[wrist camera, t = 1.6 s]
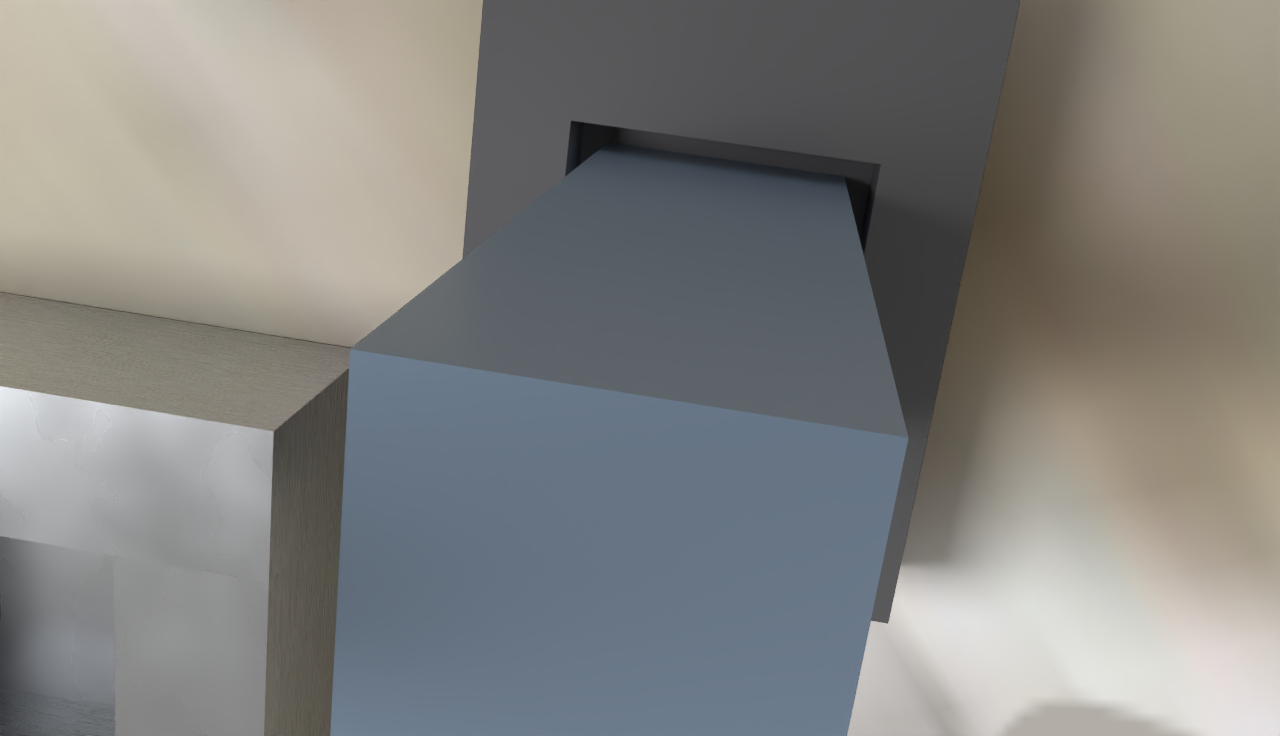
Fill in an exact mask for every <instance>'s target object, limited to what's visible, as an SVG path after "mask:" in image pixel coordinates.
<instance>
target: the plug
mask: <svg viewBox="0 0 1280 736" xmlns="http://www.w3.org/2000/svg"><path fill="white" fill-rule="evenodd" d="M907 443H908V434H907V430H906V426H905V422H904V417H903V413H902V409H901V405H900V401H899V397H898V393H897V389H896V385H895V381H894V377H893V373H892V369H891V365H890V361H889V357H888V352H887V348H886V344H885V340H884V336H883V332H882V328H881V324H880V320H879V316H878V312H877V308H876V304H875V300H874V296H873V291H872V287H871V283H870V279H869V275H868V271H867V267H866V263H865V259H864V255H863V251H862V247H861V243H860V239H859V235H858V231H857V226H856V222H855V218H854V214H853V210H852V206H851V202H850V198H849V194H848V190H847V186H846V182H845V178H844V176H839V175H832V174H825V173H818V172H811V171H804V170H797V169H790V168H783V167H776V166H769V165H762V164H755V163H748V162H741V161H734V160H727V159H720V158H713V157H706V156H699V155H692V154H685V153H678V152H670V151H663V150H656V149H649V148H642V147H635V146H628V145H621V144H614V143H607V144H605V145H604V146H603V147H602V148H600V149H599V150H598V151H597V152H595V153H594V154H593V155H592V156H590V157H589V158H588V159H587V160H586V161H584V162H583V163H582V164H581V165H579V166H578V167H577V168H576V169H574V170H573V171H572V172H571V173H569V174H568V175H567V176H566V177H564V178H563V179H562V180H561V181H559V182H558V183H557V184H556V185H554V186H553V187H552V188H551V189H549V190H548V191H547V192H546V193H544V194H543V195H542V196H541V197H539V198H538V199H537V200H536V201H534V202H533V203H532V204H531V205H529V206H528V207H527V208H526V209H524V210H523V211H522V212H521V213H519V214H518V215H517V216H516V217H514V218H513V219H512V220H511V221H509V222H508V223H507V224H506V225H504V226H503V227H502V228H501V229H499V230H498V231H497V232H496V233H494V234H493V235H492V236H491V237H489V238H488V239H487V240H486V241H484V242H483V243H482V244H481V245H479V246H478V247H477V248H476V249H475V250H473V251H472V252H471V253H470V254H468V255H467V256H466V257H465V258H463V259H462V260H461V261H460V262H458V263H457V264H456V265H455V266H453V267H452V268H451V269H450V270H448V271H447V272H446V273H445V274H443V275H442V276H441V277H440V278H438V279H437V280H436V281H435V282H433V283H432V284H431V285H430V286H428V287H427V288H426V289H425V290H423V291H422V292H421V293H420V294H418V295H417V296H416V297H415V298H413V299H412V300H411V301H410V302H408V303H407V304H406V305H405V306H403V307H402V308H401V309H400V310H398V311H397V312H396V313H395V314H393V315H392V316H391V317H390V318H388V319H387V320H386V321H385V322H383V323H382V324H381V325H380V326H378V327H377V328H376V329H375V330H373V331H372V332H371V333H370V334H368V335H367V336H366V337H365V338H363V339H362V340H361V341H360V342H359V343H357V344H356V345H355V346H354V347H352V348H351V349H350V362H349V382H348V401H347V420H346V440H345V459H344V479H343V498H342V518H341V537H340V556H339V576H338V595H337V615H336V634H335V654H334V673H333V692H332V712H331V731H330V736H847V733H848V728H849V723H850V718H851V714H852V709H853V704H854V699H855V694H856V689H857V685H858V680H859V675H860V670H861V665H862V660H863V656H864V651H865V646H866V641H867V636H868V631H869V627H870V622H871V617H872V612H873V607H874V602H875V598H876V593H877V588H878V583H879V578H880V573H881V568H882V564H883V559H884V554H885V549H886V544H887V539H888V535H889V530H890V525H891V520H892V515H893V510H894V506H895V501H896V496H897V491H898V486H899V481H900V477H901V472H902V467H903V462H904V457H905V452H906V448H907Z"/></svg>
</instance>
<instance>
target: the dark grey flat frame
mask: <svg viewBox="0 0 1280 736" xmlns="http://www.w3.org/2000/svg"><path fill="white" fill-rule="evenodd" d="M1019 4H1020V0H483V10H482V23H481V35H480V48H479V60H478V73H477V85H476V98H475V110H474V123H473V136H472V148H471V161H470V173H469V186H468V198H467V211H466V223H465V236H464V248H463V258H465V257H466V256H467V255H468V254H470V253H471V252H472V251H473V250H475V249H476V248H477V247H478V246H479V245H481V244H482V243H483V242H484V241H486V240H487V239H488V238H489V237H491V236H492V235H493V234H494V233H496V232H497V231H498V230H499V229H501V228H502V227H503V226H504V225H506V224H507V223H508V222H509V221H511V220H512V219H513V218H514V217H516V216H517V215H518V214H519V213H521V212H522V211H523V210H524V209H526V208H527V207H528V206H529V205H531V204H532V203H533V202H534V201H536V200H537V199H538V198H539V197H541V196H542V195H543V194H544V193H546V192H547V191H548V190H549V189H551V188H552V187H553V186H554V185H556V184H557V183H558V182H559V181H561V180H562V179H563V178H564V177H566V176H567V175H568V174H569V173H571V172H572V171H573V170H574V169H576V168H577V167H578V166H579V165H581V164H582V163H583V162H584V161H586V160H587V159H588V158H589V157H590V156H592V155H593V154H594V153H595V152H597V151H598V150H599V149H600V148H602V147H603V146H604V145H605V144H607V143H614V144H621V145H628V146H635V147H642V148H649V149H656V150H663V151H670V152H678V153H685V154H692V155H699V156H706V157H713V158H720V159H727V160H734V161H741V162H748V163H755V164H762V165H769V166H776V167H783V168H790V169H797V170H804V171H811V172H818V173H825V174H832V175H839V176H844V178H845V182H846V186H847V190H848V194H849V198H850V202H851V206H852V210H853V214H854V218H855V222H856V226H857V231H858V235H859V239H860V243H861V247H862V251H863V255H864V259H865V263H866V267H867V271H868V275H869V279H870V283H871V287H872V291H873V296H874V300H875V304H876V308H877V312H878V316H879V320H880V324H881V328H882V332H883V336H884V340H885V344H886V348H887V352H888V357H889V361H890V365H891V369H892V373H893V377H894V381H895V385H896V389H897V393H898V397H899V401H900V405H901V409H902V413H903V417H904V422H905V426H906V430H907V434H908V443H907V448H906V452H905V457H904V462H903V467H902V472H901V477H900V481H899V486H898V491H897V496H896V501H895V506H894V510H893V515H892V520H891V525H890V530H889V535H888V539H887V544H886V549H885V554H884V559H883V564H882V568H881V573H880V578H879V583H878V588H877V593H876V598H875V602H874V607H873V612H872V617H871V621H877V622H883V623H888V621H889V617H890V612H891V607H892V602H893V598H894V593H895V588H896V584H897V579H898V574H899V569H900V565H901V560H902V555H903V551H904V546H905V541H906V536H907V532H908V527H909V522H910V518H911V513H912V508H913V503H914V499H915V494H916V489H917V485H918V480H919V475H920V470H921V466H922V461H923V456H924V452H925V447H926V442H927V437H928V433H929V428H930V423H931V419H932V414H933V409H934V404H935V400H936V395H937V390H938V386H939V381H940V376H941V371H942V367H943V362H944V357H945V353H946V348H947V343H948V338H949V334H950V329H951V324H952V320H953V315H954V310H955V305H956V301H957V296H958V291H959V287H960V282H961V277H962V272H963V268H964V263H965V258H966V254H967V249H968V244H969V239H970V235H971V230H972V225H973V221H974V216H975V211H976V206H977V202H978V197H979V192H980V188H981V183H982V178H983V173H984V169H985V164H986V159H987V155H988V150H989V145H990V140H991V136H992V131H993V126H994V122H995V117H996V112H997V107H998V103H999V98H1000V93H1001V89H1002V84H1003V79H1004V74H1005V70H1006V65H1007V60H1008V56H1009V51H1010V46H1011V41H1012V37H1013V32H1014V27H1015V22H1016V18H1017V13H1018V8H1019Z"/></svg>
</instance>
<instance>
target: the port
mask: <svg viewBox="0 0 1280 736" xmlns="http://www.w3.org/2000/svg"><path fill="white" fill-rule="evenodd" d="M350 349H351V348H347V347H341V346H335V345H328V344H322V343H316V342H309V341H303V340H297V339H290V338H284V337H278V336H272V335H265V334H259V333H253V332H246V331H240V330H234V329H228V328H221V327H215V326H209V325H202V324H196V323H190V322H183V321H177V320H171V319H165V318H158V317H152V316H146V315H139V314H133V313H127V312H120V311H114V310H108V309H102V308H95V307H89V306H83V305H76V304H70V303H64V302H57V301H51V300H45V299H39V298H32V297H26V296H20V295H13V294H7V293H1V292H0V736H330V731H331V712H332V692H333V673H334V654H335V634H336V615H337V595H338V576H339V556H340V537H341V518H342V498H343V479H344V459H345V440H346V420H347V401H348V382H349V362H350Z"/></svg>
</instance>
